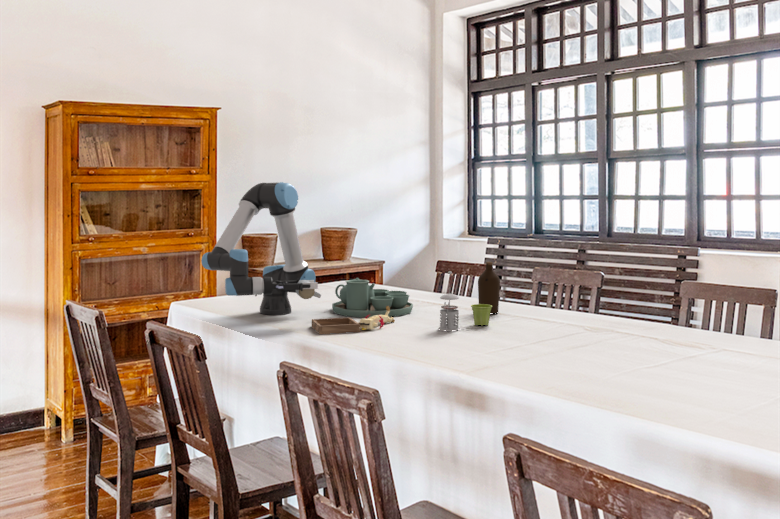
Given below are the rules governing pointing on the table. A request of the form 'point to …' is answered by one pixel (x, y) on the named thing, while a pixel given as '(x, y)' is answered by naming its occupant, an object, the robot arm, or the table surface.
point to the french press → (449, 313)
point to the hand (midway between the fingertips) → (315, 284)
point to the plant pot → (481, 313)
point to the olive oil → (489, 288)
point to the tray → (335, 325)
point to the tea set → (369, 300)
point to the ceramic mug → (307, 292)
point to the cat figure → (375, 320)
